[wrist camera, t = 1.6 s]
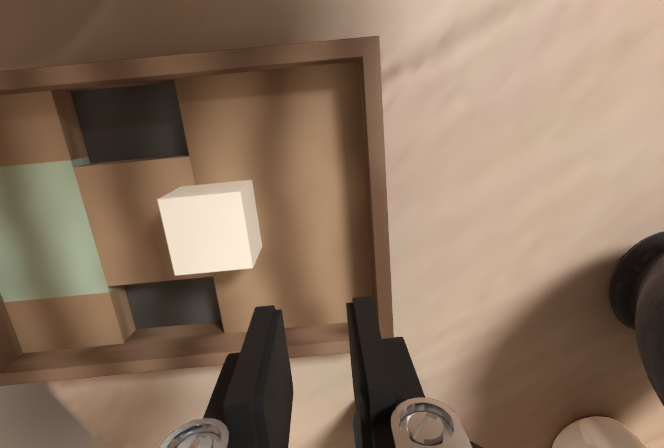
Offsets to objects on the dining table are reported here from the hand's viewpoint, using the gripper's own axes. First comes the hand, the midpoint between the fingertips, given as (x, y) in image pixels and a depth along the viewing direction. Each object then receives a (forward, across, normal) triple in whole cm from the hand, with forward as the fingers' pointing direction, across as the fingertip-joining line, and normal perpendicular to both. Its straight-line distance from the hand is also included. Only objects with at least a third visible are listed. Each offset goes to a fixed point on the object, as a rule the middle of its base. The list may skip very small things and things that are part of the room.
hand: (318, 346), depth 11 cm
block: (+17, +7, 0) cm, 18 cm away
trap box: (+19, +10, 0) cm, 22 cm away
